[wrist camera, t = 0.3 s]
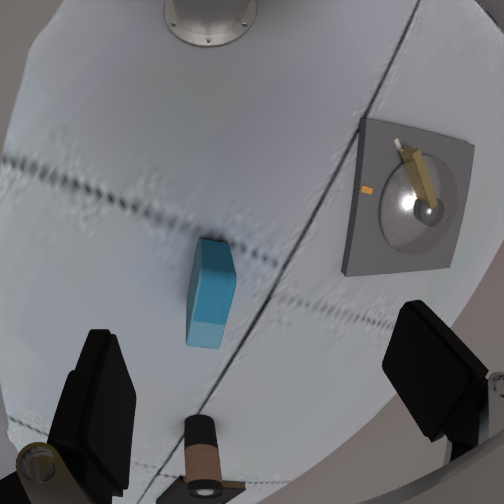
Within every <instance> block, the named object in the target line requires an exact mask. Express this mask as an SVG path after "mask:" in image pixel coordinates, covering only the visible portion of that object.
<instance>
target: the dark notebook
mask: <svg viewBox="0 0 504 504" xmlns="http://www.w3.org/2000/svg"><path fill="white" fill-rule="evenodd" d="M181 476H182V475H181ZM181 476H180V477H181ZM180 477H179V478H178V479H177V480H176V481H175V482H174V483H173V485H172V486H171V487H170V488H169V489H168V490H167V491H166V492H165V493H164V494H163V495H162V496H161V497H160V498H159V499H158V500H157V501H156V504H226V503H227V502H229V501H230V500H231V499H233V498H234V497H236V496H237V495H239V494H240V493H242V492H243V491H245V490H246V489H245V488H246V487H245V483H244V482H236V481H223V480H222V484H223V491H224V494H223V495H222V496H221V497H218V498H215V499H195V498H192V497H189V496H188V495H187V484H186V476H183V478H182V479H181V480H180Z"/></svg>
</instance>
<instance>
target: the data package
mask: <svg viewBox="0 0 504 504" xmlns="http://www.w3.org/2000/svg"><path fill="white" fill-rule="evenodd" d="M235 287H236V272H235V267H234V263H233V259H232V255H231V251H230V246H229V244H228V243H223V242H217V241H211V240H206V239H199V241H198V244H197V249H196V254H195V260H194V265H193V270H192V275H191V281H190V286H189V292H188V298H187V309H186V345H187V346H193V347H202V348H210V349H218V348H219V347H220V344H221V340H222V336H223V333H224V329H225V325H226V321H227V318H228V314H229V310H230V306H231V302H232V299H233V295H234V291H235Z"/></svg>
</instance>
